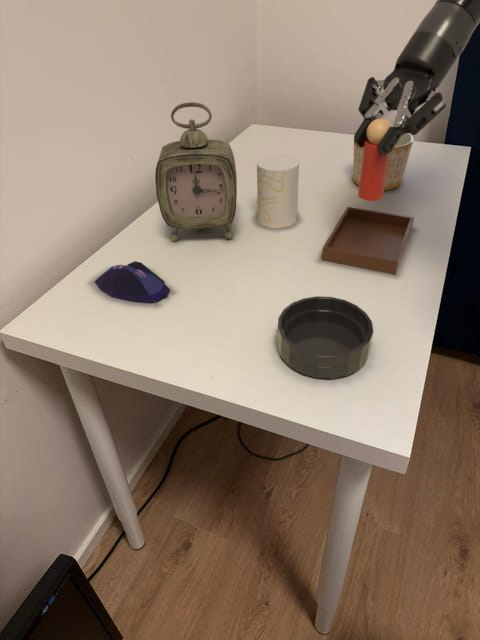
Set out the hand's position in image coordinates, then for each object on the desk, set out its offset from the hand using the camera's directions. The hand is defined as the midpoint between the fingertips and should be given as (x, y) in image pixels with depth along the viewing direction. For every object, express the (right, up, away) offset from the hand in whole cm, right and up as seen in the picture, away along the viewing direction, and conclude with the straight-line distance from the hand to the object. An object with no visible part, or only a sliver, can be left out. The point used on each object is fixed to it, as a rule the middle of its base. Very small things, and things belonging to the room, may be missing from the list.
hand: (369, 148), depth 74 cm
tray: (+5, -12, +17) cm, 22 cm away
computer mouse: (-38, -21, +10) cm, 44 cm away
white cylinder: (-12, -5, +27) cm, 30 cm away
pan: (-8, -31, -4) cm, 32 cm away
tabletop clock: (-27, -9, +23) cm, 37 cm away
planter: (+12, +6, +39) cm, 41 cm away
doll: (+2, -6, +6) cm, 9 cm away
